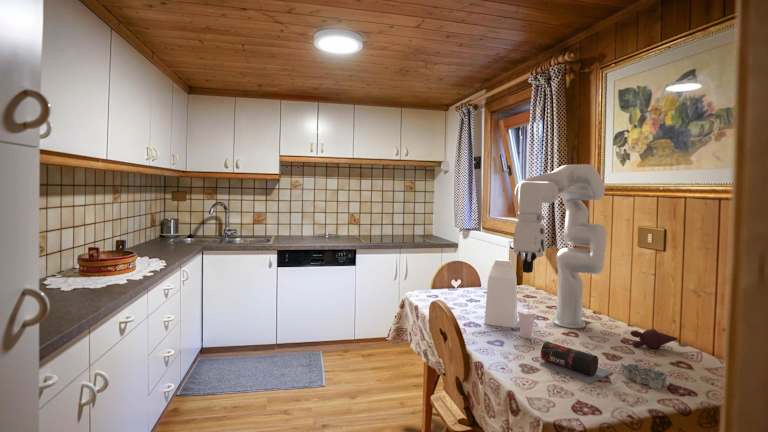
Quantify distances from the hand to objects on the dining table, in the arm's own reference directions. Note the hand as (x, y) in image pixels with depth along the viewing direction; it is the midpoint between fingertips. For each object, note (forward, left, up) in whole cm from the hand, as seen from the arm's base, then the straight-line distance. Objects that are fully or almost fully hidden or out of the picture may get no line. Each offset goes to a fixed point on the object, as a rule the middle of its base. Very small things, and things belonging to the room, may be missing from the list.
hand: (527, 272), depth 139 cm
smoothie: (-12, -8, -27) cm, 31 cm away
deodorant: (+2, +9, -24) cm, 25 cm away
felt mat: (0, +18, -27) cm, 33 cm away
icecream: (-41, +24, -27) cm, 55 cm away
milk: (-19, -25, -27) cm, 41 cm away
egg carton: (-10, +33, -28) cm, 44 cm away
